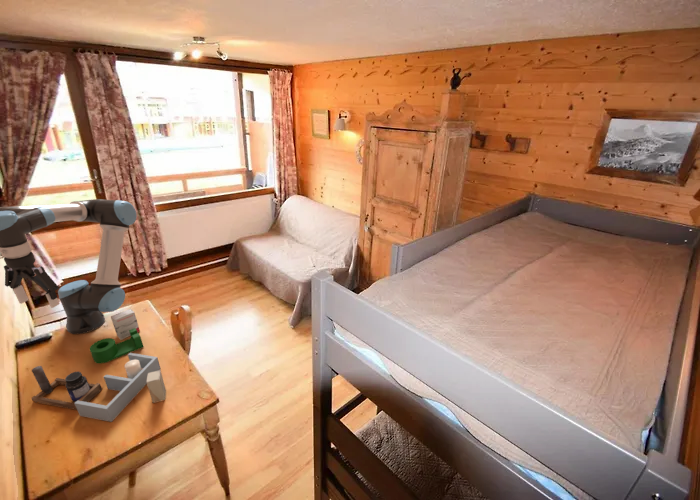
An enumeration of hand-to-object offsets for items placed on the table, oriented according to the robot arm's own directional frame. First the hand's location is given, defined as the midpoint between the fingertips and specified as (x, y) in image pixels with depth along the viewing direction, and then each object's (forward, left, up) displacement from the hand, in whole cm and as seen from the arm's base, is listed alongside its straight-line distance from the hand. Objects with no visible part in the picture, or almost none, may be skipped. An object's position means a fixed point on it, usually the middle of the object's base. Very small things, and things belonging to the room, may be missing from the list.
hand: (39, 303), depth 124 cm
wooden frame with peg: (+13, +15, -31) cm, 37 cm away
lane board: (+7, +33, -32) cm, 46 cm away
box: (+7, +49, -32) cm, 59 cm away
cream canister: (+1, +34, -32) cm, 46 cm away
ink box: (-23, +10, -32) cm, 40 cm away
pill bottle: (+13, +21, -32) cm, 40 cm away
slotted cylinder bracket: (-12, +14, -32) cm, 37 cm away
